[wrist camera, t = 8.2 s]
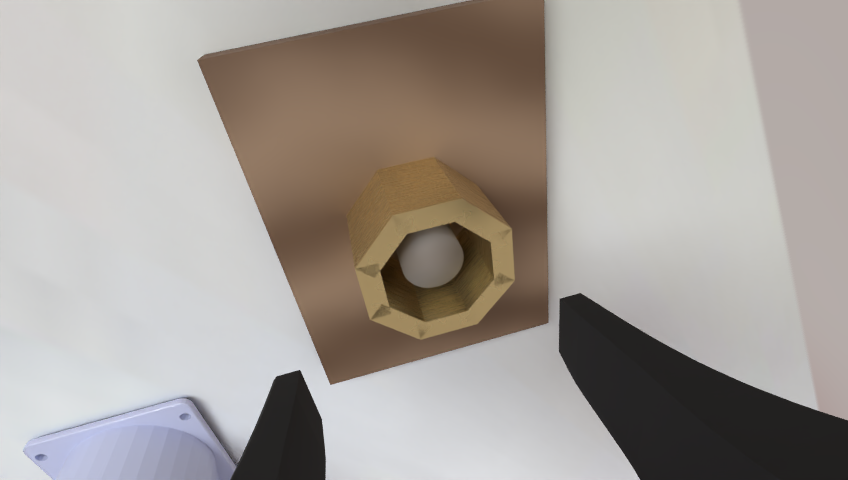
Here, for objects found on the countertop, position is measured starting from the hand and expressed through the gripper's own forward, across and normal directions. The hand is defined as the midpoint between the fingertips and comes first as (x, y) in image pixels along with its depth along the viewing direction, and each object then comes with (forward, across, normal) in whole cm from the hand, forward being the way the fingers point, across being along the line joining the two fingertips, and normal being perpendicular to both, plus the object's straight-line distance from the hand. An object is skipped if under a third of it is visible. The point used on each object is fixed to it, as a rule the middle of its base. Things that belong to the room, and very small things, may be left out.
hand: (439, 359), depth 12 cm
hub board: (+9, -1, 0) cm, 9 cm away
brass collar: (+8, -1, 0) cm, 8 cm away
